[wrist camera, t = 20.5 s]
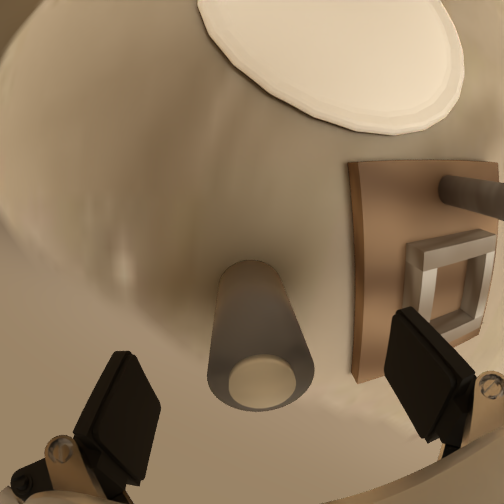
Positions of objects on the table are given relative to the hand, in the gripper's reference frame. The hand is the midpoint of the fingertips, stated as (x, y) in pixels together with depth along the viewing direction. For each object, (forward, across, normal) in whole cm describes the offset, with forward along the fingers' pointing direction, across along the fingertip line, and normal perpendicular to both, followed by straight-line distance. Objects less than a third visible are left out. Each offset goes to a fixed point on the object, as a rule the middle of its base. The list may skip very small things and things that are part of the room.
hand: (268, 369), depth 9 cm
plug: (+8, 0, +1) cm, 8 cm away
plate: (+10, -10, -18) cm, 23 cm away
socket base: (+8, -14, +3) cm, 16 cm away
